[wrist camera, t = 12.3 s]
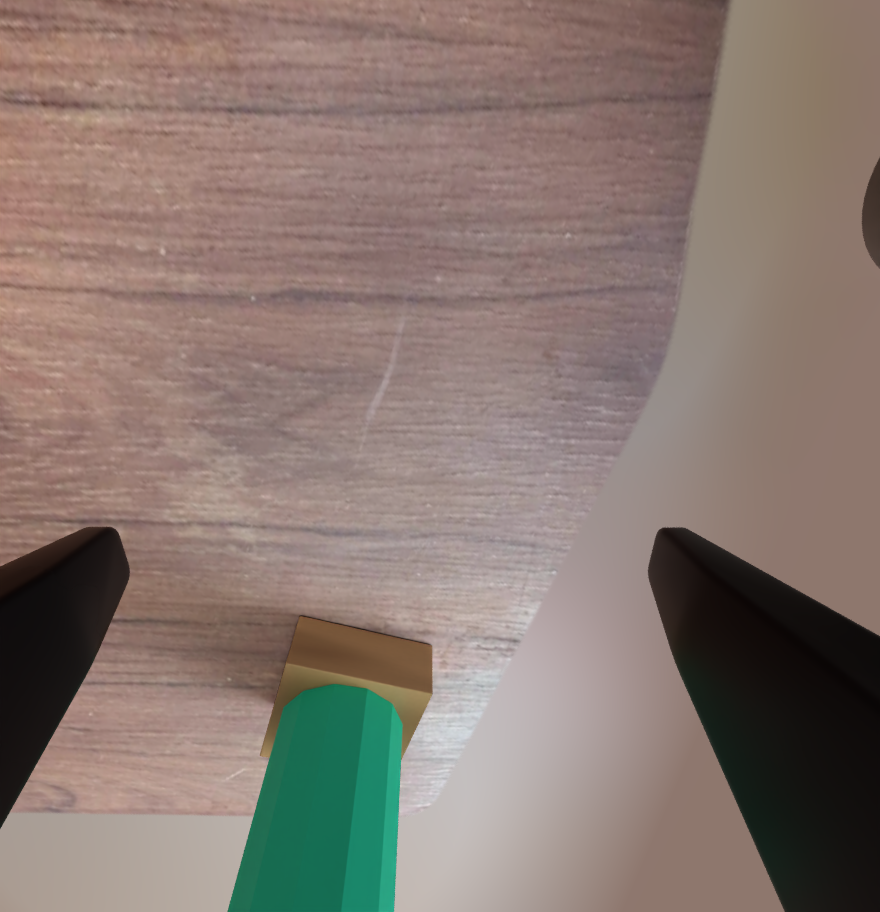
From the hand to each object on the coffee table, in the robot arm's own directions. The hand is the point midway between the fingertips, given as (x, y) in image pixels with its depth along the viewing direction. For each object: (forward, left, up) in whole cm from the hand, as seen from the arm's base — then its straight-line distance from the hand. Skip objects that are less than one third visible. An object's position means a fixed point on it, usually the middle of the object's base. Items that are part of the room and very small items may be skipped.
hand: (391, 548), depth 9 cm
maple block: (-11, +15, -13) cm, 23 cm away
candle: (-10, +15, -10) cm, 21 cm away
